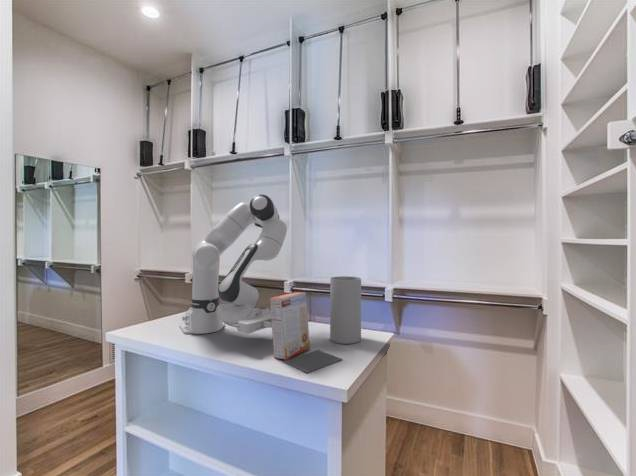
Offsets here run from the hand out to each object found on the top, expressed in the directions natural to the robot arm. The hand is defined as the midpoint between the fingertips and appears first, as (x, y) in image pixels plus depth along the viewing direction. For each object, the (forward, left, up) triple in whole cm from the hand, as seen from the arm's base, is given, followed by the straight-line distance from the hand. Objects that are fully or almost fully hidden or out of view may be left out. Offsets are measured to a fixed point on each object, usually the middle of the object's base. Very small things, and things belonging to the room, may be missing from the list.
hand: (276, 325), depth 120 cm
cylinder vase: (+10, +27, -9) cm, 30 cm away
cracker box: (+8, +1, -9) cm, 12 cm away
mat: (+18, +2, -9) cm, 20 cm away
